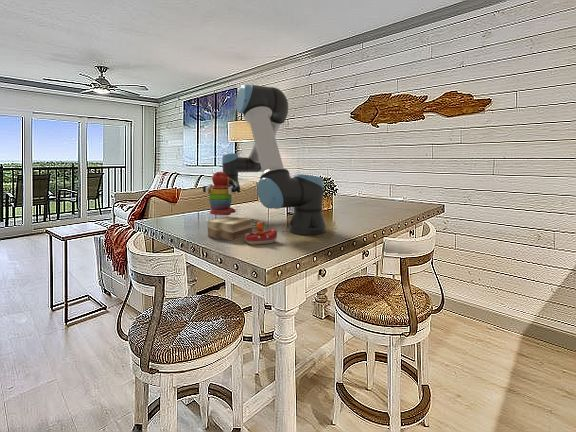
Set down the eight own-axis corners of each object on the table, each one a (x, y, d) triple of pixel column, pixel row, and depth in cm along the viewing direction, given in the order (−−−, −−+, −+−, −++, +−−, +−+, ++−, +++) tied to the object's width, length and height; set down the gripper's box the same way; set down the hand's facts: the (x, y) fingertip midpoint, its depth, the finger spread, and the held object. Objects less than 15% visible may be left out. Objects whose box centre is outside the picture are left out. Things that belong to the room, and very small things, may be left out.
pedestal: (252, 234, 141) (252, 219, 140) (232, 240, 131) (232, 224, 130) (228, 231, 147) (228, 216, 146) (207, 236, 137) (207, 221, 136)
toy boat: (279, 244, 128) (280, 223, 126) (247, 246, 124) (247, 225, 122) (273, 239, 135) (273, 219, 133) (242, 241, 131) (242, 221, 129)
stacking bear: (228, 215, 148) (227, 172, 145) (205, 214, 150) (204, 171, 147) (236, 211, 159) (236, 171, 156) (215, 211, 160) (213, 170, 158)
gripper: (249, 194, 171) (244, 200, 149) (204, 194, 171) (192, 199, 149) (249, 178, 170) (243, 181, 148) (204, 178, 170) (191, 181, 148)
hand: (218, 190), depth 148 cm, fingers closed on stacking bear, 9 cm apart
